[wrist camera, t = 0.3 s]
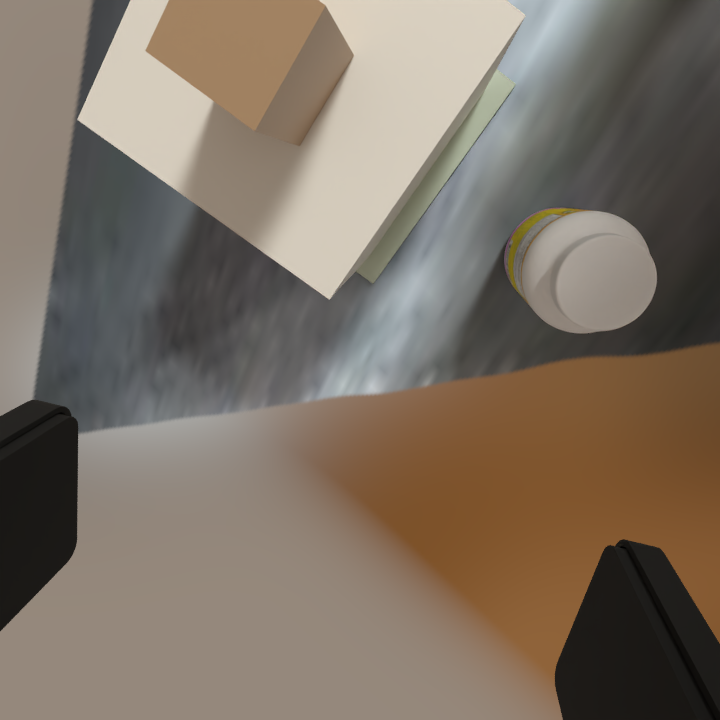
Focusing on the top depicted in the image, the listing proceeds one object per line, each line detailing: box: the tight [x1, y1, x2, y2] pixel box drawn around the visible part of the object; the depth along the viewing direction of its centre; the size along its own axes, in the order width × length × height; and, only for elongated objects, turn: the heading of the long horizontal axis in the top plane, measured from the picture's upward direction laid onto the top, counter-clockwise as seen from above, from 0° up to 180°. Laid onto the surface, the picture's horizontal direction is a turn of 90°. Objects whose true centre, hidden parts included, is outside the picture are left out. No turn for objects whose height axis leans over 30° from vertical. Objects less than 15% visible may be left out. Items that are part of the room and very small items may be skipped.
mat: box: [356, 69, 516, 283], centre depth 37 cm, size 16×16×1 cm
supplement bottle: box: [504, 208, 657, 333], centre depth 32 cm, size 7×7×13 cm
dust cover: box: [78, 0, 526, 300], centre depth 26 cm, size 13×13×22 cm
